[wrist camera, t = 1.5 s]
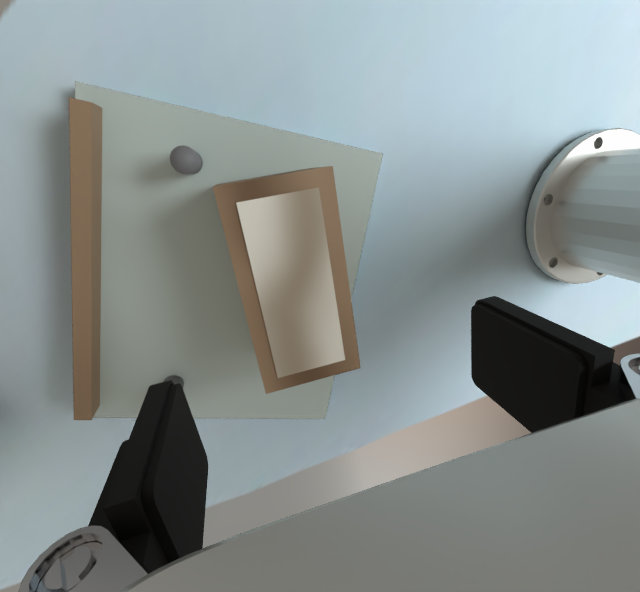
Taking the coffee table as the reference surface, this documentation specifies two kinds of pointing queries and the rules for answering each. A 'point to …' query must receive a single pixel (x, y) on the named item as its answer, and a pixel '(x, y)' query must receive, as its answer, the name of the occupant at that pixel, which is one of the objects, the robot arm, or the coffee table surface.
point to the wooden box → (291, 274)
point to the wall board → (180, 253)
